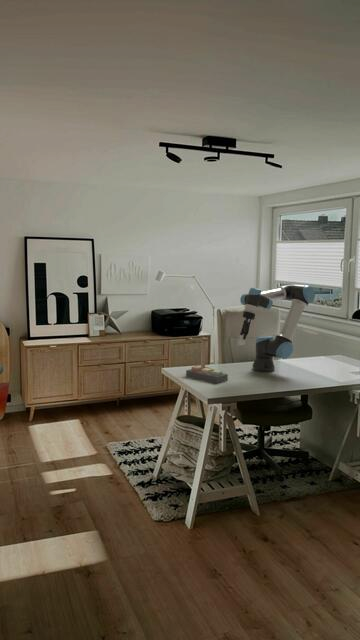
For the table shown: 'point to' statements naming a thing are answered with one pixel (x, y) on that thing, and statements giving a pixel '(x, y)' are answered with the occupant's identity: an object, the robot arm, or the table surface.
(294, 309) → the robot arm
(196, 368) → the terracotta key
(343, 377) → the table surface
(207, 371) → the sand key
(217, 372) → the sage key
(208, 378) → the keypad
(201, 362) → the headphone stand
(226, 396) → the table surface
